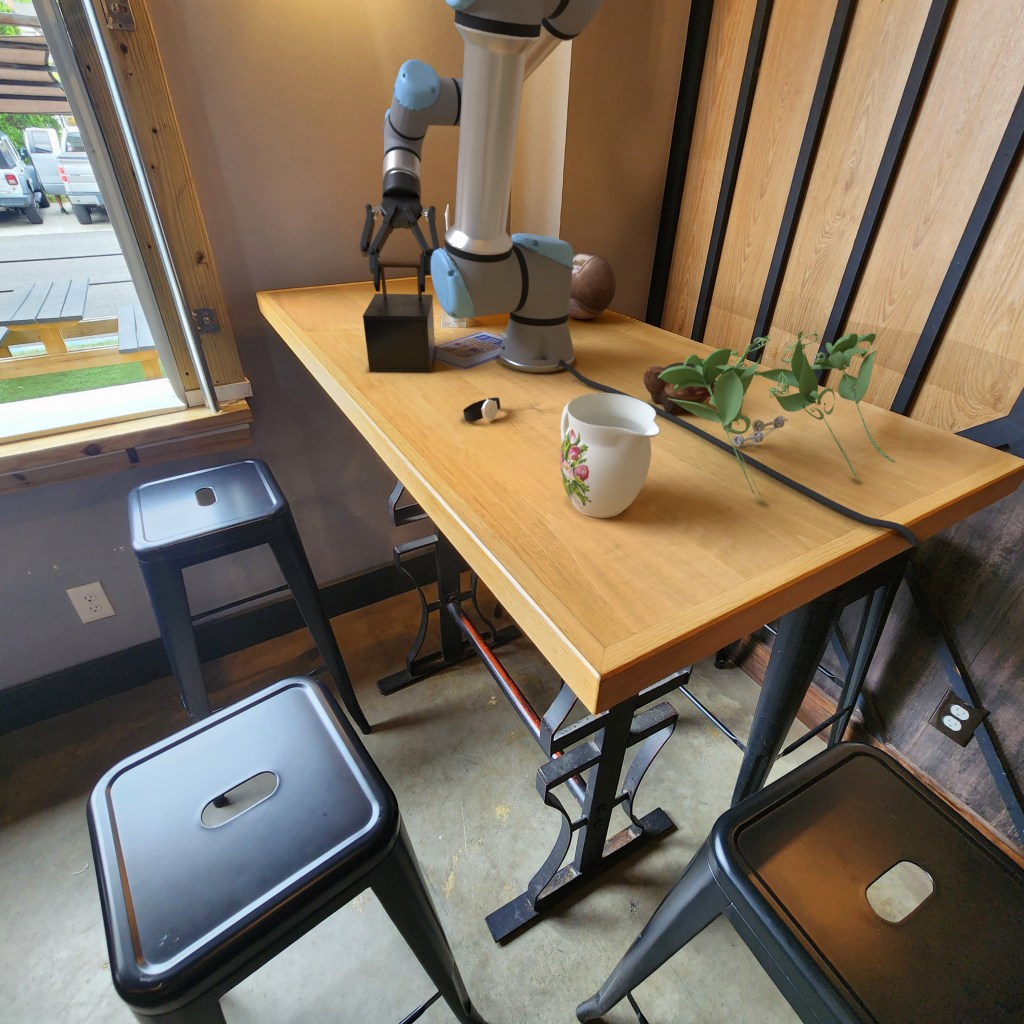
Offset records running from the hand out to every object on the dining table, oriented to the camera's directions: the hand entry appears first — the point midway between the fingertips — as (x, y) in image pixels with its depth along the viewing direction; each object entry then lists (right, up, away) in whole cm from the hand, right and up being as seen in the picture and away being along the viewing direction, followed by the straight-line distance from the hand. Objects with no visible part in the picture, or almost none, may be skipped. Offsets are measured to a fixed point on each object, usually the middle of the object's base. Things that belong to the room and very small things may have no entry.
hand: (399, 287), depth 109 cm
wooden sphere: (+39, +5, +33) cm, 51 cm away
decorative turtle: (+51, -25, -10) cm, 57 cm away
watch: (+17, -28, -15) cm, 36 cm away
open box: (0, -12, +6) cm, 13 cm away
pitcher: (+33, -42, -35) cm, 63 cm away
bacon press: (0, -4, 0) cm, 4 cm away
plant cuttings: (+60, -36, -25) cm, 74 cm away
